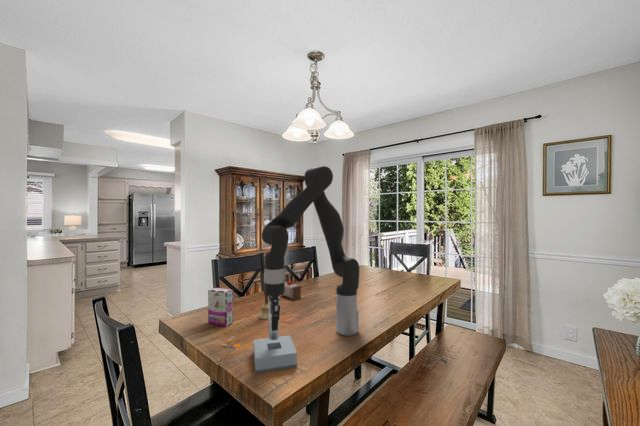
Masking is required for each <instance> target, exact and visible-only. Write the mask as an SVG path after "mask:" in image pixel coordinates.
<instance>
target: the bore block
mask: <svg viewBox="0 0 640 426" xmlns="http://www.w3.org/2000/svg"><path fill="white" fill-rule="evenodd" d="M253 361H254V369H255V374H263V373H268V372H273V371H275V372H276V371H281V370H287V369H294V368H298V352H297V349H296V347H295V343H294V341H293V339H292V336H291V335H283V336H281V335H280V336H279V338H278V339H277V340H270V339H269V337H265V338H258V339H253Z"/></svg>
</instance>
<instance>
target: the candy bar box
mask: <svg viewBox="0 0 640 426" xmlns="http://www.w3.org/2000/svg"><path fill="white" fill-rule="evenodd" d="M233 292H234V291H233V289H231V288H223V287H213V288H209V289H208V291H207V297H208V299H207V301H208V303H207V304H208V305H207V307H208V308H207V309H208V315H207V316H208V318H207V319H208V321H207V322H208V324H210V325H216V326H222V327H228V326H230V325H232V324H233V322H234V312H233V311H234V308H233V307H234V302H233V301H234V298H233V296H234V293H233Z"/></svg>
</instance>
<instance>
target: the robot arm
mask: <svg viewBox="0 0 640 426" xmlns="http://www.w3.org/2000/svg"><path fill="white" fill-rule="evenodd" d="M303 179H304V180H303V181H304V183H305V188H304V189H303V190H302V191H300V192H299V193H298V194H297V195H296V196H294V197H293V198H291V200H290V201H288V203H287V204H286V205H285V207H284V208H283V209H282V211H280V213H279V214H278V215H277V216H276V217H274V218H273V219H272V220H270V221H269V222H268V223H267V224H266V225H265V226H264V228H263V229H262V232H261V239H262V241H263V242H264V243H265V244H267V245H270V251H267V252H266V253H265V256H264V272H263V295H264V294H265V295H267V296H268V304H269V305H270V313H271V320H272V324H271V329H272V331H276V330H278V320H279V321H280V314H281V313H280V312H281V299H280V297H279V296H282V294H284V293H285V282H286V272H285V255H286V252H287V250H288V249H287V248H288V244H289V240H290V239H289V238H290V237H289V232H288V230H287V229H290V228H293V227H295V225H296V223H298V221H299V220H300V218H301V217H302V216H303V214H304V213H305V212H306V210H307V209H308V208H309V207H311V206H312V205H311V204H313V205H314V210H315V211H316V215H317V217H318V220H319V224H320V227H321V230H322V233H323V236H324V238H325V242H326V246H327V249H328V252H329V257H330V262H331V266H332V270H333V272H334V274H335V276H338V277H340V278H342V282H341V283H342V284H339V285H337V286H336V289H335V290H336V291H335V293H336V294H335V295H336V297H335V298H336V299H335V300H336V301H335V302H336V305H335V307H336V312H335V313H336V314H335V316H336V317H335V320H336V321H335V322H336V323H335V324H336V325H335V327H336V328H335V332H336V333H337V334H338V335H341V336H347V337H348V336H354V335H356V334H358V333H359V315H360V314H359V313H360V312H359V310H358V289H359V284H360V265H359V261H358V260H357V259H355V258H352V257H347V256H346V255H345V252H344V248H343V238H344V232H345V231H344V230H345V229H344V224H343V221H342V217H341V215H340V213H339V211H338V210H337V208H336V207H335V206H334V205H333V204H332V203H331V202H330V200H329V199H328V197H327V195H326V192H325V191H326V190H327V189H328V188H329V187H330V186H331V184H332V183H333V179H334V174H333V171H332V169H331V168H330V167H328V166H327V165H326V166H325V165H321V166H320V165H319V166H315V167H312V168H311V167H310V168H309V169H308V168H307V170H306V171H305V172H304V178H303ZM274 315H277V316H275V317H274Z"/></svg>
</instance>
